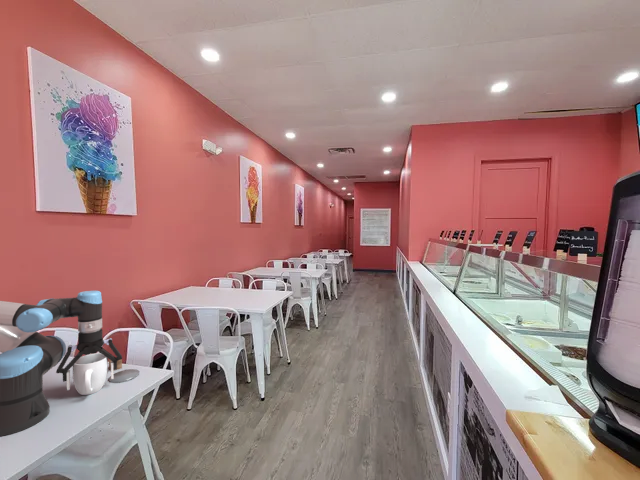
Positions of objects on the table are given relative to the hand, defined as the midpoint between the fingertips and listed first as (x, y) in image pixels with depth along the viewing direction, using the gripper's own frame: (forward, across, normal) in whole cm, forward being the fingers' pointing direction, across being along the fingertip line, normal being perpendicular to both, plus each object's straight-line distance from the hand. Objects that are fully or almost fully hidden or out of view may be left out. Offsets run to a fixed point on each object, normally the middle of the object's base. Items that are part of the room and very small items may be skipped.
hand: (91, 383), depth 113 cm
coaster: (+4, +11, +7) cm, 14 cm away
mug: (+4, 0, 0) cm, 4 cm away
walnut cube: (+4, +8, +19) cm, 21 cm away
